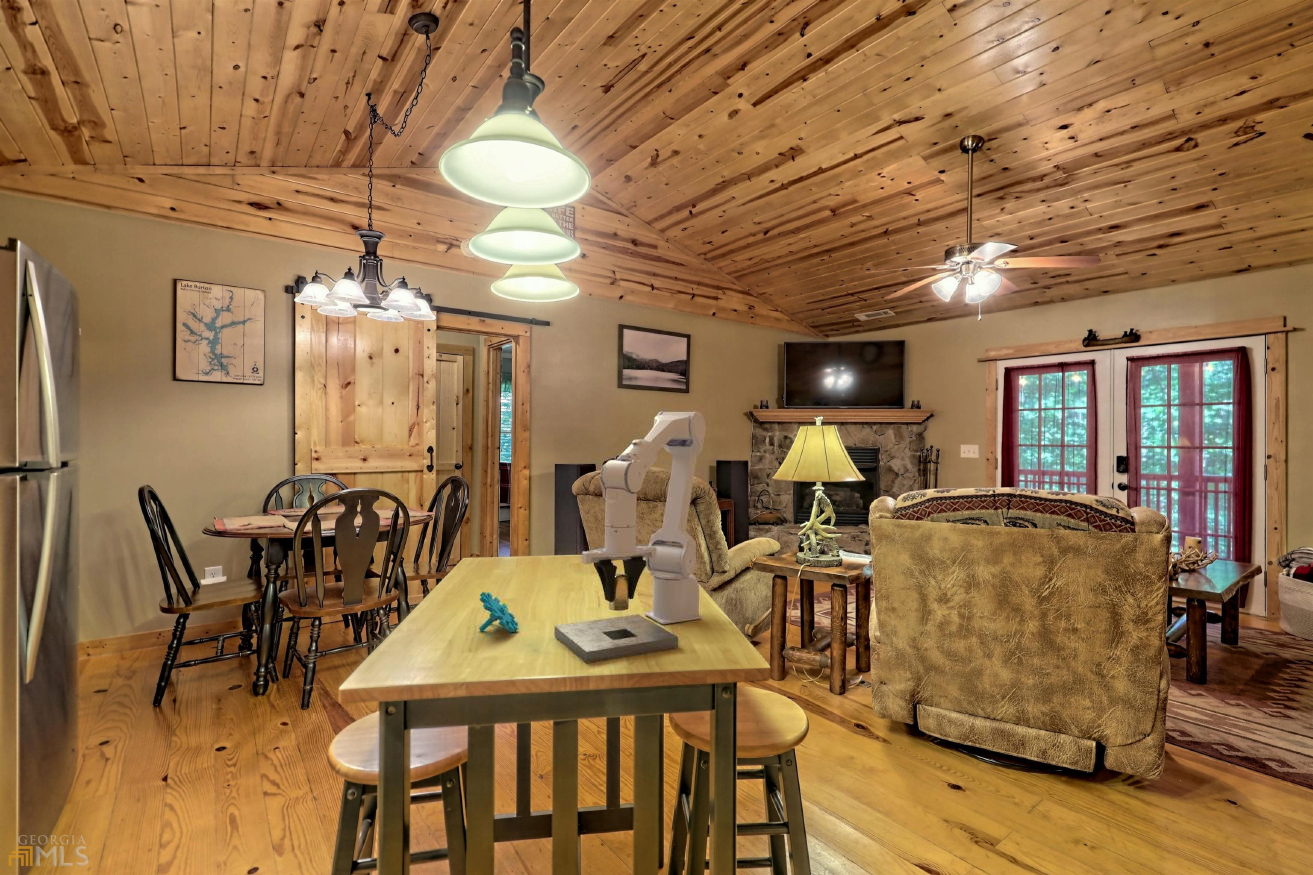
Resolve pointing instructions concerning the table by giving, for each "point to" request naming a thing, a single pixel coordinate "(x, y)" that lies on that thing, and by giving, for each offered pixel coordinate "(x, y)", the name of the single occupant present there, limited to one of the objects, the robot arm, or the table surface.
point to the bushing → (620, 593)
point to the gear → (497, 613)
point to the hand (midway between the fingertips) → (619, 599)
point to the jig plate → (614, 638)
